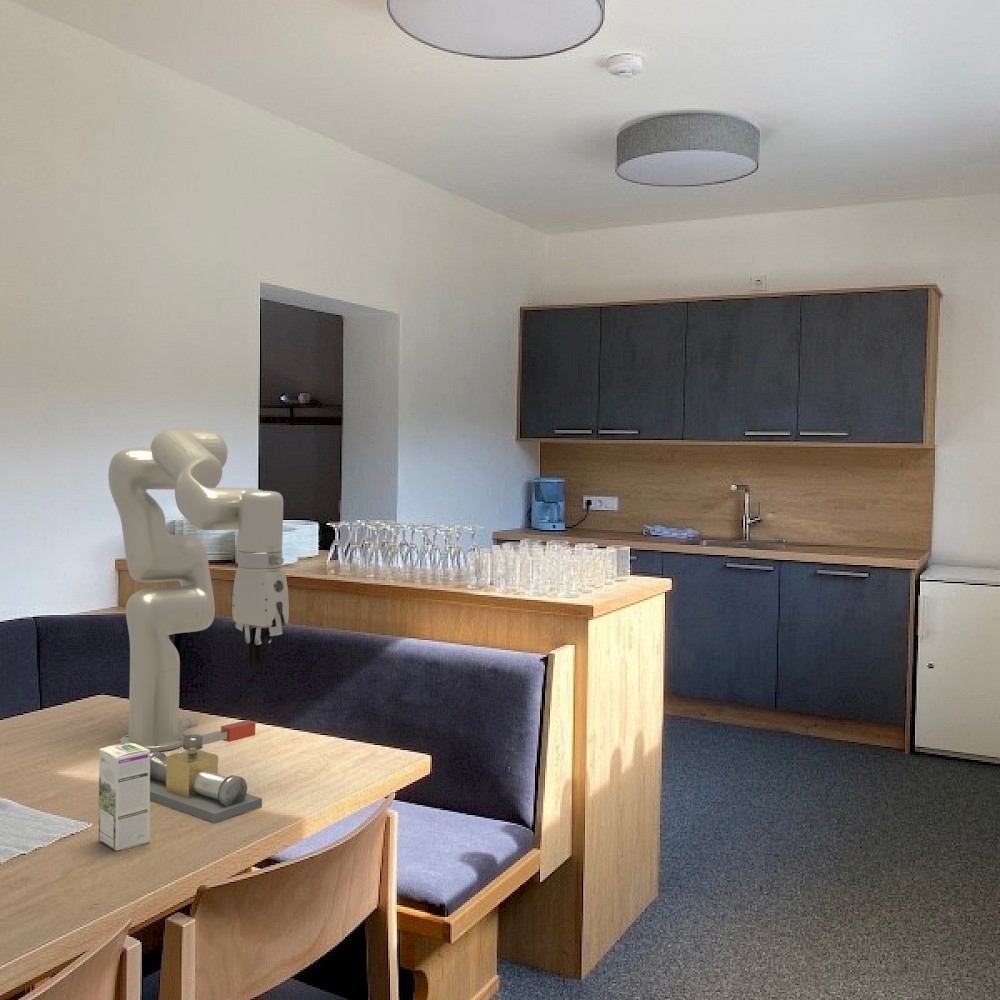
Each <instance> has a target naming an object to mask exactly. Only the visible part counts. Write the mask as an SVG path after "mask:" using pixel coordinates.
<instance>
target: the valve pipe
mask: <svg viewBox="0 0 1000 1000" xmlns="http://www.w3.org/2000/svg"><path fill="white" fill-rule="evenodd" d="M218 767H219V754H215V753H211V752H208V751H205V750H201V749H199V750H198V751H197V755H195V756H189V755H188V750H184V751H182V752H177V753H173V754H169V755H166V754H165V753H163V752H162V751H152V752H150V780H152V779H155V780H158V781H161V782H164V783H166V791H168V792H171V793H174V794H177V795H180V796H183V797H186V798H192V797H195V796H198V795H203V796H206V797H209V798H212V799H215V800H218V801H219V803H220V804H221V805H222V806H225V807H229V806H232V805H235V804H238V803H241V802H243V801H244V799H245V797H246V794H248V784H247V780H246V779H244V777H242V776H239V775H233V774H231V775H229V776H226V775H223V774H219V773H218V771H219V768H218Z"/></svg>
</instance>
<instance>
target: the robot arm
mask: <svg viewBox="0 0 1000 1000" xmlns="http://www.w3.org/2000/svg"><path fill="white" fill-rule="evenodd" d="M227 460H228V447H227V443H226V441H225V440H224V438H223V437H222V436H221V434H219V433H218V432H216V431H214V430H209V429H195V428H194V429H193V428H170V429H164V430H162V431H161V432H159V433H157V434H156V435H155V436H154V437H153V439H152V441H151V443H150V447H130V448H126V449H122V450H119V451H118V452H116V453H115V454H114V455H113V457H111V459H110V463H109V466H108V475H107V477H108V486H109V491H110V493H111V497H112V499H113V501H114V505H115V507H116V509H117V512H118V515H119V517H120V518H119V519H120V523H121V530H122V538H123V544H124V546H123V547H124V551H125V558H126V559H125V560H126V564H127V568H128V569H127V570H128V573H129V575H130V577H131V578H132V579H133V580H134V581H136V582H140V583H163V582H176V581H177V582H179V584H180V586H179V585H178V586H160V587H150V588H144V589H141V590H138V591H136V592H134V593H133V594H132V595H131V596H129V598H128V599H127V602H126V606H125V617H126V618H125V619H126V624H127V630H128V637H129V697H128V698H129V704H128V734H126V735H124V736H122V737H121V738H120V739H119V741H120V742H119V744H122V743H131V742H133V743H135V744H137V745H140V746H142V747H144V748H146V749H148V750H150V752H152V751H158V752H164V751H170V750H174V749H178V748H180V747H183V737H184V736H186V735H185V734H184V733H183V732H185V731H186V730H187V729H191V728H196V727H197V726H198V725H199V721H198V719H197V717H191V718H187V719H184V718H185V717H179V715H180V714H179V713H180V711H179V710H180V708H179V707H180V673H181V672H180V671H181V670H180V669H181V667H180V666H181V662H180V661H181V660H180V654H179V651H178V649H177V647H176V646H175V644H174V643H173V642H172V640H171V639H170V635H175V634H183V633H193V632H200V631H204V630H206V629H208V628H209V627H210V626H211V625H212V624H213V623H214V619H215V613H216V606H215V605H216V604H215V598H214V589H213V584H212V578H211V571H210V570H211V569H210V565H209V564H210V563H209V558H208V553H207V550H206V548H205V545H204V543H203V542H202V541H201V540H200V539H199V538H198V537H196V536H194V535H191V534H170V533H169V532H168V529H167V524H166V517H165V513H164V510H163V509H162V507H161V506H160V504H159V503H158V502H157V500H156V499H155V498H154V497H153V496H152V495H150V494H149V493H148V492H147V490H167V491H168V490H170V491H171V490H174V498H175V499H174V500H175V504H176V506H177V508H178V511H179V512H180V514H181V515H182V516H183V517H184V518H186V520H187V521H188V522H189V523H191V524H192V525H193V526H194V527H196V528H198V529H201V530H203V531H225V530H226V531H231V530H233V531H234V530H235V531H236V530H237V531H238V535H237V536H238V537H237V538H238V542H237V543H238V544H237V545H238V546H237V547H238V548H237V550H238V552H237V568H236V571H235V576H234V583H233V591H232V599H231V600H232V606H231V613H232V620H233V621H234V622H235V629H237V630H239V631H241V632H243V633H242V634H243V635H244V638H245V639H244V640H245V642H246V643H247V645H248V646H247V667H252V668H259V667H265V666H268V664H269V644H270V643H271V642H272V639H273V637H275V636H280V635H283V626H286V625H287V626H288V623H289V619H290V618H289V617H290V615H289V614H290V611H289V610H290V607H289V602H290V601H289V587H288V581H287V575H286V571H285V570H283V568H282V567H283V564H284V558H283V532H284V530H283V529H284V527H283V526H284V498H283V495H282V494H281V493H280V492H278V491H272V490H262V489H258V488H256V487H255V488H253V487H218V486H219V484H220V482H221V479H222V477H223V468H224V467H225V464H226V463H227Z"/></svg>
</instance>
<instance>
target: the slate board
mask: <svg viewBox="0 0 1000 1000" xmlns="http://www.w3.org/2000/svg"><path fill="white" fill-rule="evenodd" d="M150 802H153V803H157V804H159V805H162V806H165V807H168V808H170V809H174V810H177V811H179V812H183V813H185V814H187V815H191V816H192V817H193V816H194V817H195V818H196V817H197V818H199V819H202V820H205V821H207V822H210V823H213V824H216V823H218V822H221V821H225V820H228V819H231V818H233V816H234V817H237V816H240V815H242V813H243V814H245V812H246V813H248V811H249V812H251V811H253V810H257V809H260V808H263V807H262V806H263V798H262V797H259V796H256V795H253V794H250V793H247V794H246V797H245V799H244V801H243V802H241V803H238V804H235V805H232V806H229V807H225V806H222V805H221V804H220V803H219V801H218V800H215V799H212V798H209V797H206V796H203V795H198V796H195V797H192V798H186V797H183V796H180V795H177V794H174V793H171V792H168V791H166V783H164V782H161V781H158V780H155V779H152V780H150ZM259 807H260V808H259ZM256 808H257V809H256ZM250 810H251V811H250ZM239 814H240V815H239ZM236 815H237V816H236ZM230 817H231V818H230Z"/></svg>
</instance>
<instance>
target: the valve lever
mask: <svg viewBox="0 0 1000 1000" xmlns="http://www.w3.org/2000/svg"><path fill="white" fill-rule="evenodd" d="M256 723H257V722H256V721H252V720H249V719H246V720H245V719H244V720H242V721H236V722H233V723H230V724H226V725H221V726H220V730H218V731H214V732H210V733H205V734H187V735H185V736H184V737H183V745H182V749H183V750H184V751H188V755H189V756H195V755H197V751H198V750H201V749H203V746H204V745H208V744H212V743H216V742H220V741H223V742H227V743H231V742H235V741H239V740H242V739H246V738H250V737H254V736H256Z"/></svg>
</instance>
